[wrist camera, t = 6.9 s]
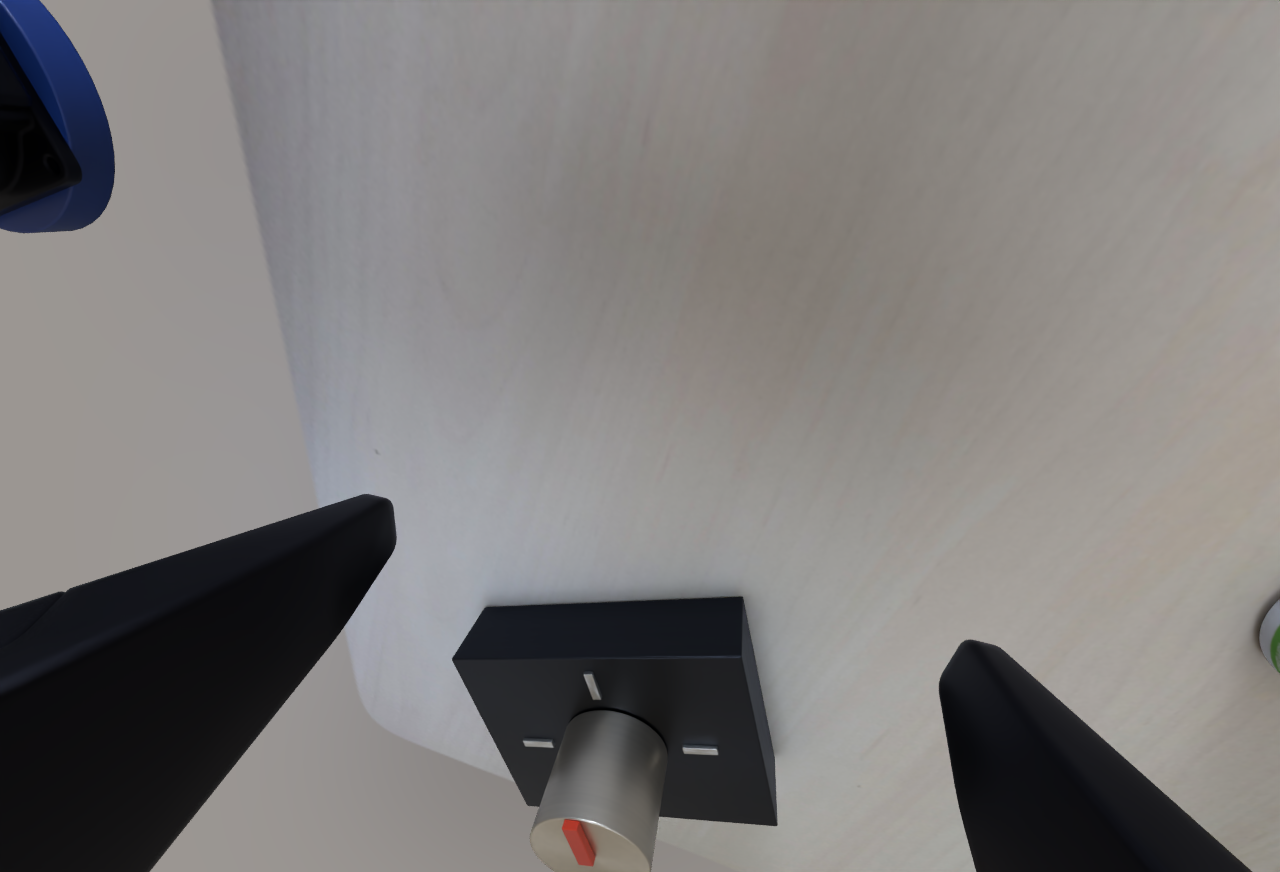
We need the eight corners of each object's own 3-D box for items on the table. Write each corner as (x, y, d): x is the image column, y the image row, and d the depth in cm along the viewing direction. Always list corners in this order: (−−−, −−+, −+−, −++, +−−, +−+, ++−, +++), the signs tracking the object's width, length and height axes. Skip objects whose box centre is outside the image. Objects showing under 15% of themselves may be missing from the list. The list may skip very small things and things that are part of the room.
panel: (548, 746, 27) (525, 810, 24) (484, 606, 23) (448, 662, 21) (774, 757, 24) (777, 831, 21) (742, 596, 20) (741, 660, 17)
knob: (677, 781, 21) (661, 909, 17) (581, 775, 22) (547, 894, 19) (655, 710, 20) (632, 835, 16) (553, 708, 21) (509, 823, 17)
